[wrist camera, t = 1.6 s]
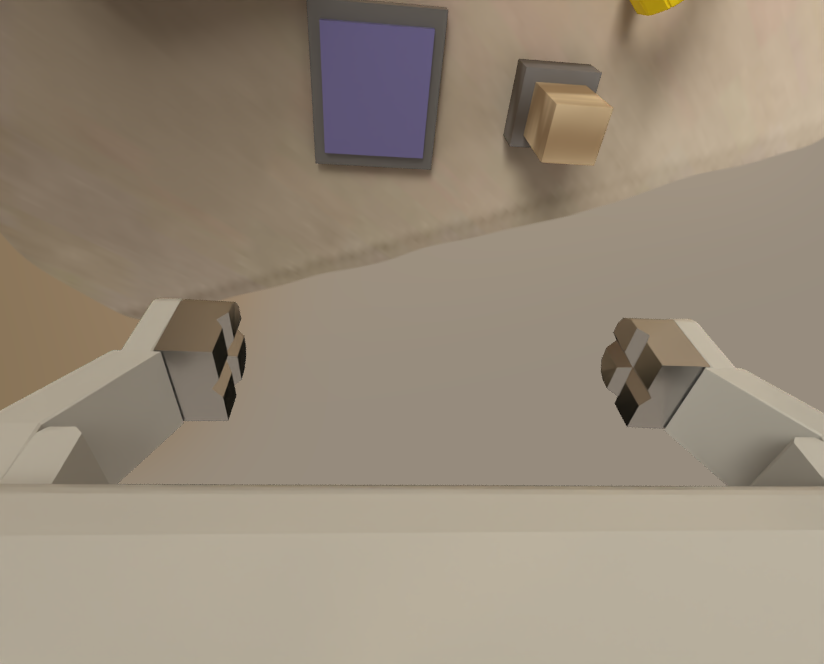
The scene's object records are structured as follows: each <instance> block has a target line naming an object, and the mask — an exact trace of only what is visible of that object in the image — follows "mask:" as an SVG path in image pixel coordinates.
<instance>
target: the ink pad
mask: <svg viewBox="0 0 824 664" xmlns="http://www.w3.org/2000/svg"><path fill="white" fill-rule="evenodd" d="M307 16H308V34H309V52H310V70H311V88H312V106H313V124H314V142H315V160H316V163H318V164H336V165H354V166H372V167H390V168H408V169H426V170H431V163H432V154H433V145H434V136H435V127H436V117H437V108H438V99H439V90H440V81H441V71H442V62H443V53H444V44H445V35H446V25H447V16H448V9H447V8H446V7H435V6H424V5H413V4H402V3H390V2H379V1H368V0H307Z"/></svg>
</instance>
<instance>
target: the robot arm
mask: <svg viewBox="0 0 824 664" xmlns="http://www.w3.org/2000/svg"><path fill="white" fill-rule="evenodd" d="M240 321H241V316H240V311H239V306H238V305H237V303H235V302H226V301H211V300H194V299H174V298H157V299H155V300H153V301H152V303H151V304H150V306H149V307H148V309H147V310H146V312H145V314H144V315H143V317H142V318H141V320H140V321H139V323H138V324H137V326H136V328H135V329H134V331H133V332H132V334H131V335H130V337H129V338H128V340H127V342H126V343H125V345H124V346H123V348H122V349H121V350H112V351H110V352H108V353H107V354H105V355H103V356H101V357H99V358H97V359H95V360H93V361H92V362H90V363H88V364H86V365H84V366H82V367H80V368H78V369H77V370H75V371H73V372H71V373H69V374H68V375H66V376H64V377H62V378H60V379H58V380H56V381H54V382H52V383H51V384H49V385H47V386H45V387H43V388H41V389H40V390H38V391H36V392H34V393H32V394H30V395H28V396H27V397H25V398H23V399H21V400H19V401H17V402H16V403H14V404H12V405H10V406H8V407H6V408H4V409H3V410H1V411H0V664H824V413H822V412H820V411H819V410H817V409H815V408H813V407H811V406H810V405H808V404H806V403H804V402H802V401H801V400H799V399H797V398H795V397H793V396H792V395H790V394H788V393H786V392H784V391H782V390H780V389H779V388H777V387H775V386H773V385H771V384H770V383H768V382H766V381H764V380H763V379H761V378H759V377H757V376H755V375H753V374H752V373H750V372H748V371H746V370H744V369H738V368H735V367H734V365H733V364H732V363H731V362H730V361H729V360H728V359H727V357H726V356H725V355H724V354H723V353H722V351H721V350H720V349H719V348H718V347H717V345H716V344H715V343H714V342H713V341H712V339H711V338H710V337H709V336H708V335H707V334H706V333H705V331H704V330H703V329H702V328H701V327H700V325H699V324H698V323H697V322H695V321H693V320H691V319H641V318H640V319H639V318H623V319H622V320H621V321H620V322H619V323H618V324H617V326H616V328H615V330H614V332H613V333H614V335H615V338H616V341H615V342H613V343H612V344H611V345H609V346H608V347H607V348H606V350H605V352H604V355H603V357H602V360H601V374H602V379H603V381H604V383H605V385H606V388H607V389H608V390H610V391H611V392H612V393H614V394H615V395H617V399H616V401H615V405H616V407H617V409H618V411H619V413H620V415H621V417H622V419H623V420H624V422H625V424H626V426H627V427H638V428H662V429H665V432H667V433H668V434H669V435H670V436H671V437H672V438H673V439H674V440H676V441H677V442H678V443H679V444H680V445H681V446H682V447H684V448H685V449H686V450H687V451H688V452H689V453H690V454H692V455H693V456H694V457H695V458H696V459H697V460H699V461H700V462H701V463H702V464H703V465H704V466H705V467H706V468H708V469H709V470H710V471H711V472H712V473H713V474H714V475H715V476H717V477H718V478H719V479H720V480H721V481H722V482H723V483H725V484H726V485H727V486H537V485H536V486H535V485H533V486H531V485H530V486H528V485H527V486H525V485H516V486H514V485H509V486H508V485H217V484H214V485H213V484H210V485H209V484H208V485H207V484H205V485H203V484H202V485H201V484H199V485H197V484H196V485H195V484H190V485H189V484H183V485H182V484H118V483H119V482H120V481H121V480H122V479H123V478H124V477H125V476H127V475H128V474H129V473H130V472H131V471H132V470H133V469H134V468H135V467H136V466H138V465H139V464H140V463H141V462H142V461H143V460H144V459H145V458H146V457H147V456H149V455H150V454H151V453H152V452H153V451H154V450H155V449H156V448H157V447H158V446H159V445H161V444H162V443H163V442H164V441H165V440H166V439H167V438H168V437H169V436H170V435H172V434H173V433H174V432H175V431H176V430H177V429H178V428H179V427H180V426H181V425H182V424H183V423H184V422H183V421H228V420H229V417H230V414H231V410H232V408H233V405H234V402H235V398H236V391H235V387H234V385H235V384H236V383H237V382H239V381H240V380H242V376H243V373H244V369H245V361H246V344H245V338H244V335H243V334H242V333H241V332H240V331H239V330H238V326H239V323H240Z"/></svg>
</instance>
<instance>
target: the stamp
mask: <svg viewBox="0 0 824 664" xmlns="http://www.w3.org/2000/svg"><path fill="white" fill-rule="evenodd" d="M601 74H602V73H601V72H600V71H599V70H597V69H596V68H594V67H593V66H592V65H589V64H577V63H564V62H552V61H539V60H526V59H519V60H518V65H517V70H516V75H515V80H514V85H513V90H512V95H511V100H510V105H509V110H508V115H507V120H506V125H505V130H504V134H503V135H504V137H505V139H506V141H507V142H508V144H509V146H514V147H530V148H532V149H533V151H534V152H535V154H536V155H537V157H538V158H539V160H540V161H541V163H558V164H575V165H592V166H594V164H595V161H596V158H597V155H598V152H599V149H600V146H601V143H602V140H603V137H604V134H605V131H606V128H607V125H608V123H609V120H610V117H611V114H612V111H613V107H611V106H610V105H609V104H608V103H607V102H605V101H604V100H603V99H602V98H601V97H599V96H598V95H597V94H596V91H597V87H598V84H599V81H600V78H601Z"/></svg>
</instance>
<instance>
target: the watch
mask: <svg viewBox="0 0 824 664" xmlns="http://www.w3.org/2000/svg"><path fill="white" fill-rule="evenodd" d="M682 1H684V0H630V2H631V4H632V5H633V7H634V9H635V11H636V13H637V14H642V15H647V16H649V15H654V14H656V13H659V12H662V11H665V10H668V9H670V8H671V7H674V6H676V5H677V4H679V3H681V2H682Z"/></svg>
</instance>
